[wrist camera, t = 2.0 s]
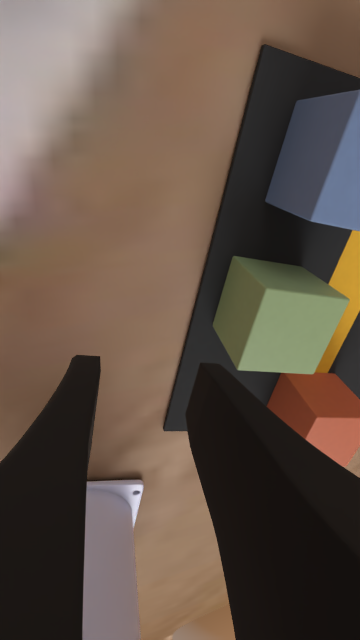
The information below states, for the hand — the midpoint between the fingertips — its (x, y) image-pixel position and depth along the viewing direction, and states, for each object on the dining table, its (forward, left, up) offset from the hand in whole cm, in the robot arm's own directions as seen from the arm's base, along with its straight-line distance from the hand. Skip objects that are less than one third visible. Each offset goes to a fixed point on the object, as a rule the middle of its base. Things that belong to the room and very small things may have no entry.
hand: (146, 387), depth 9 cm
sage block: (0, -7, -8) cm, 11 cm away
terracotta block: (-7, -13, -8) cm, 17 cm away
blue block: (+7, -8, -8) cm, 13 cm away
